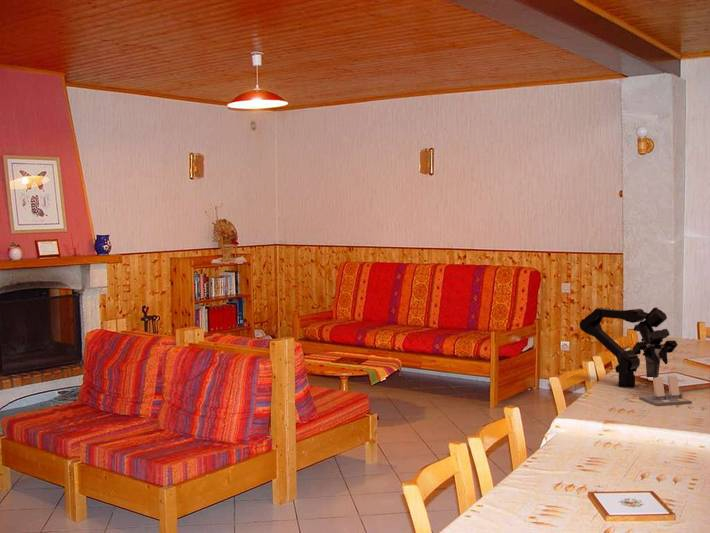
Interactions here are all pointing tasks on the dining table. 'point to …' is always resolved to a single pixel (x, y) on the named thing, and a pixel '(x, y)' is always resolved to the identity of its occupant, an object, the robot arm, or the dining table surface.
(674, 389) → the marked lever
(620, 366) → the robot arm
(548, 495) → the dining table surface
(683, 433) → the dining table surface
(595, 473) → the dining table surface
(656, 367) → the beverage cup
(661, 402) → the switch unit
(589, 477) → the dining table surface
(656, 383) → the unmarked lever
